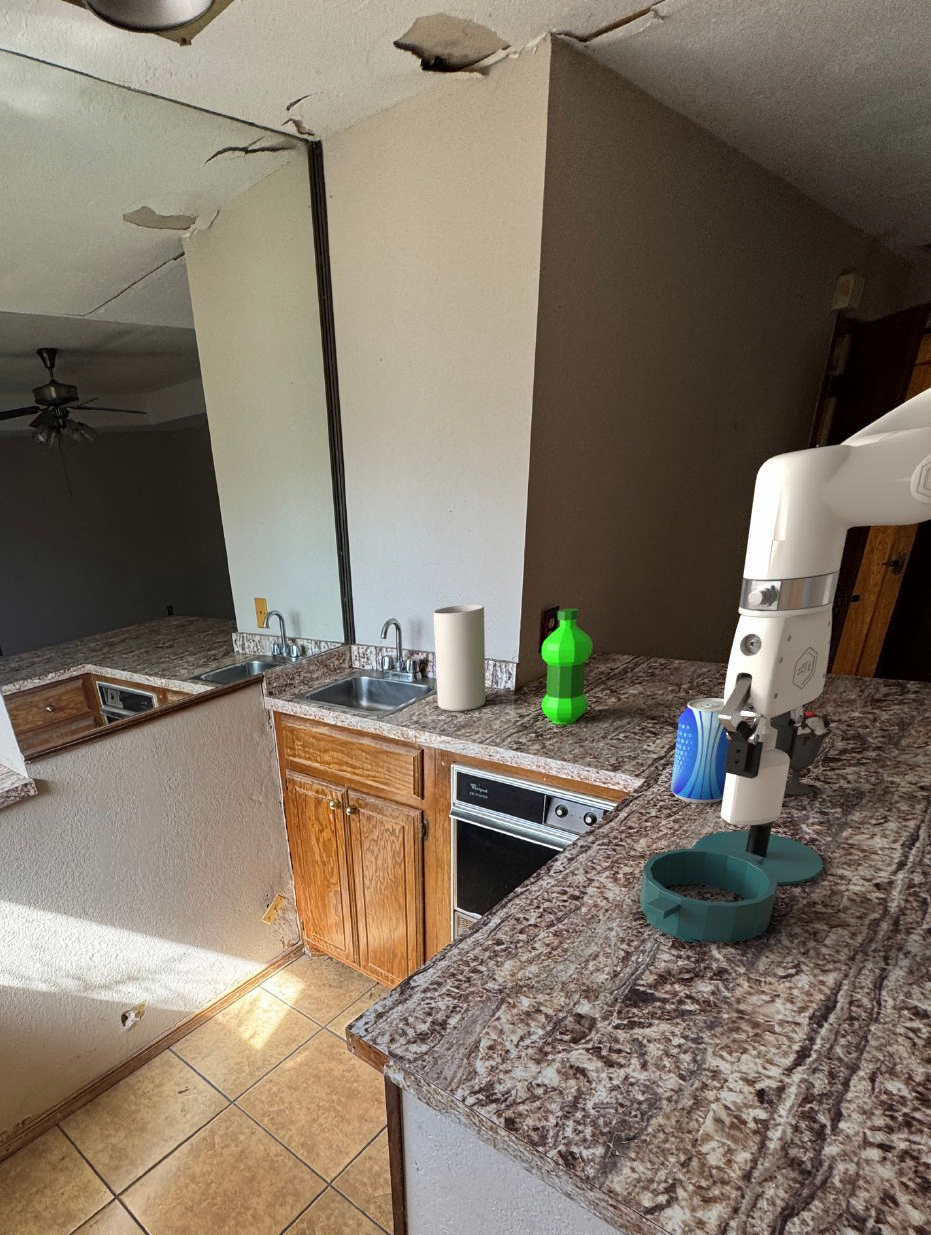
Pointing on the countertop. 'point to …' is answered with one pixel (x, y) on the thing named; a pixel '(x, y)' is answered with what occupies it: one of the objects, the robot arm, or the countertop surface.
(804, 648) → the robot arm
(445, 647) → the cylinder vase
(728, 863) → the pot
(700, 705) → the beer can
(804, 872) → the lid
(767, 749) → the eye dropper bottle
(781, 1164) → the countertop surface
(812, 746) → the sundae
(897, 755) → the countertop surface
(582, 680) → the plastic bottle
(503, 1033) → the countertop surface
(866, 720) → the countertop surface
